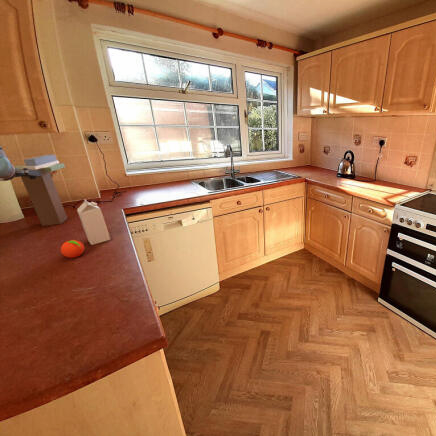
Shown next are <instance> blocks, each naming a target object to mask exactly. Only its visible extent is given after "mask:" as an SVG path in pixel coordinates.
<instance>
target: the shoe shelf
mask: <svg viewBox="0 0 436 436" xmlns="http://www.w3.org/2000/svg"><path fill="white" fill-rule="evenodd" d="M65 165H66V164H65V163H64V162H61V163H57V164H54V165H50V166H47V167H43V168H40V169H37V171H40V172H41V177H36V179H30V177H23V176H20V178H21V181H22V183H23V186H24V187H25V190H26V192H27V194H28V198H29V199H30V201H31V204H32V206H33V208H34V211H35V213H36V216H37V217H38V220H39V222H40V224H41V226H42V227H45V226H46V227H47V226H53V225H55V226H56V225H61V224H62V223H64V222H66V221H67V220H68V216H67V212H66V210H65V208H64V206H63V203H62V201H61V198H60V195H59V193H58V189H57V188H56V185H55V182H54V180H53V177H52V175H51V172H55V171H58V170H60V169H64V168H66V166H65ZM13 166H14V167H15V168H17V169H19V170H22V169H23V168H22V167H26V165H13Z"/></svg>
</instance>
